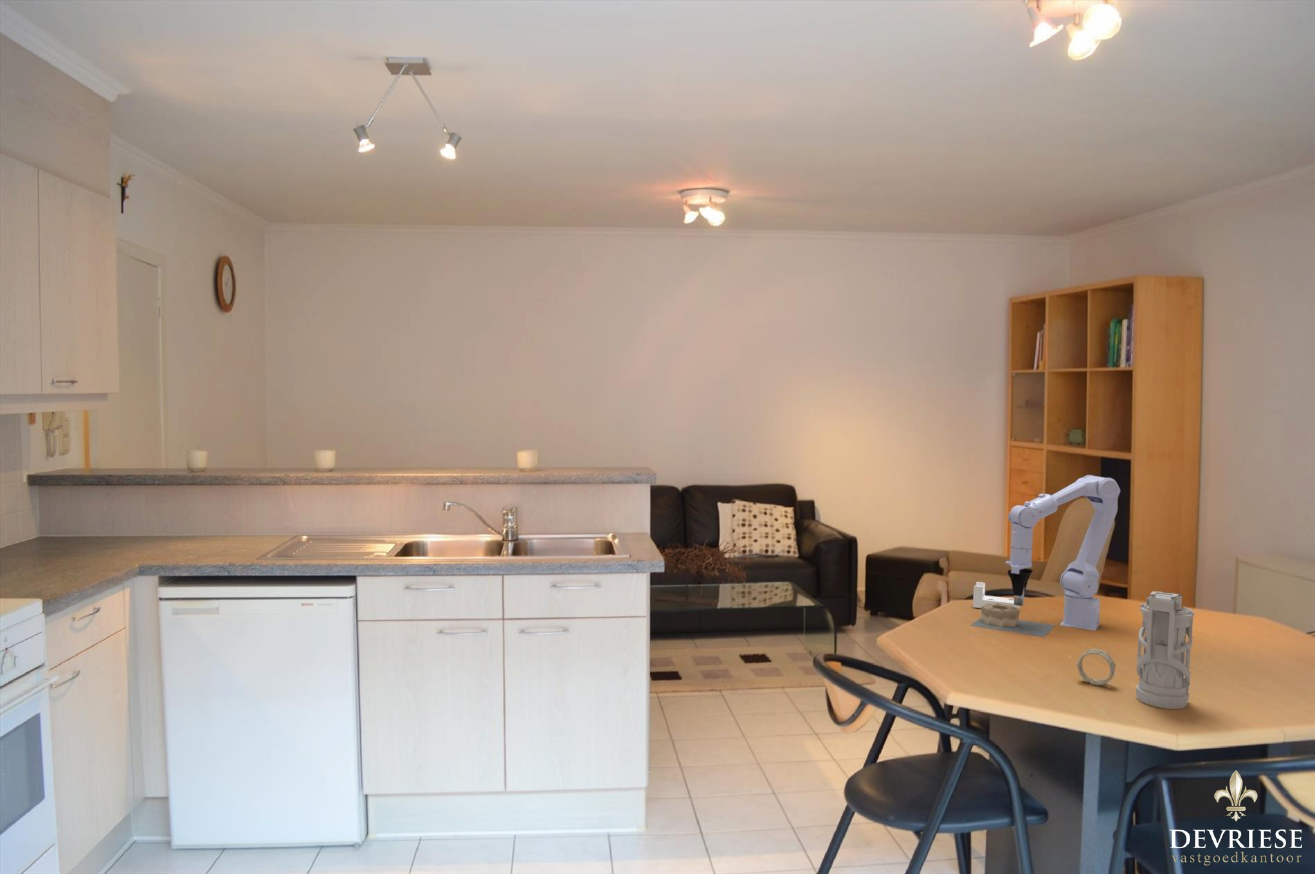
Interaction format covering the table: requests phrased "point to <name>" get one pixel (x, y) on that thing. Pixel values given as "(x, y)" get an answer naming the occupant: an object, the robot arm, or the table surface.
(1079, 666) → the bracelet
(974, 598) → the bracket
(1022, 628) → the mat
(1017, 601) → the peg
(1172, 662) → the lantern
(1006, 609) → the ring
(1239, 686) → the table surface
